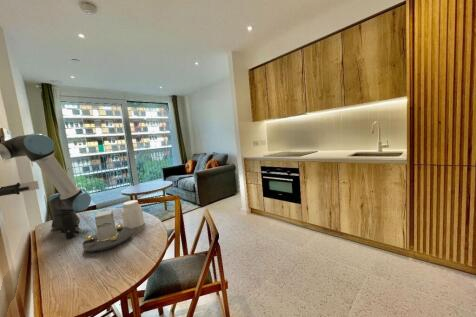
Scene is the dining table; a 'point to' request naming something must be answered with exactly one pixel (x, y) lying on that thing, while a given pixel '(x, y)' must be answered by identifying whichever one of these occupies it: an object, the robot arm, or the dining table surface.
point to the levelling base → (107, 240)
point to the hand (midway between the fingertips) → (38, 184)
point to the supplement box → (105, 224)
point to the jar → (132, 214)
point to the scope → (69, 226)
